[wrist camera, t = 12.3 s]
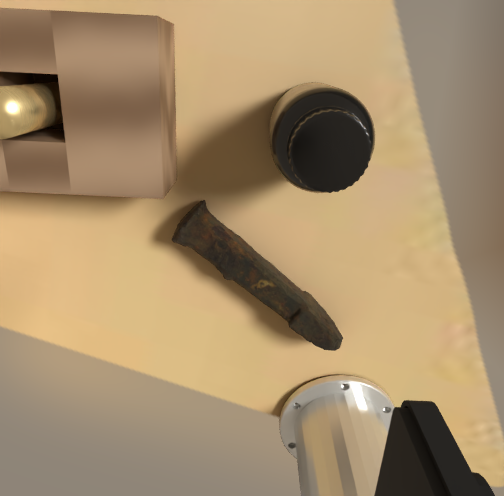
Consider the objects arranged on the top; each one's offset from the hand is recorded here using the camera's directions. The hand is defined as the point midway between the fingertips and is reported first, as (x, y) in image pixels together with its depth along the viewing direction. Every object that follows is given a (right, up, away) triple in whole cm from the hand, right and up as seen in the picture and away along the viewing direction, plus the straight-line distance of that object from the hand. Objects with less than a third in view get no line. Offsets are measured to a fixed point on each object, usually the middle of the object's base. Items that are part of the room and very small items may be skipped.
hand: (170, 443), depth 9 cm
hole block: (-14, +16, +26) cm, 34 cm away
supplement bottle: (+6, +14, +27) cm, 31 cm away
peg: (-14, +16, +26) cm, 34 cm away
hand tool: (+3, +2, +32) cm, 33 cm away
